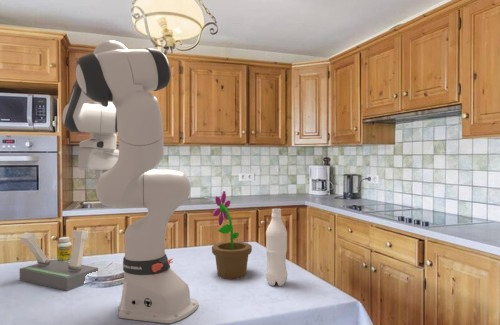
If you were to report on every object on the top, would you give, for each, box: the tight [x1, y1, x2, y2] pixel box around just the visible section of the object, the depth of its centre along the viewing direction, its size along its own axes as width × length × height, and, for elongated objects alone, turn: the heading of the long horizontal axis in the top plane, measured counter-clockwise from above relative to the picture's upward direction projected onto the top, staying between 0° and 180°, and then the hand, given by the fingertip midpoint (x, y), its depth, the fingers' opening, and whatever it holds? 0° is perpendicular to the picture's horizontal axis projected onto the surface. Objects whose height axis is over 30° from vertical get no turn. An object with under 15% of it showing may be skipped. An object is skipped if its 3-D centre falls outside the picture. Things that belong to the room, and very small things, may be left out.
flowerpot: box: [211, 190, 253, 280], centre depth 129 cm, size 14×14×30 cm
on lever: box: [18, 231, 51, 265], centre depth 124 cm, size 4×3×13 cm, turn 65°
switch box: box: [19, 259, 99, 292], centre depth 124 cm, size 24×12×4 cm, turn 65°
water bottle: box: [265, 208, 288, 287], centre depth 119 cm, size 7×7×25 cm
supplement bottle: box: [56, 236, 73, 263], centre depth 146 cm, size 5×5×10 cm
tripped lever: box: [68, 229, 90, 271], centre depth 121 cm, size 4×3×13 cm, turn 65°
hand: (101, 182), depth 128 cm, fingers closed
